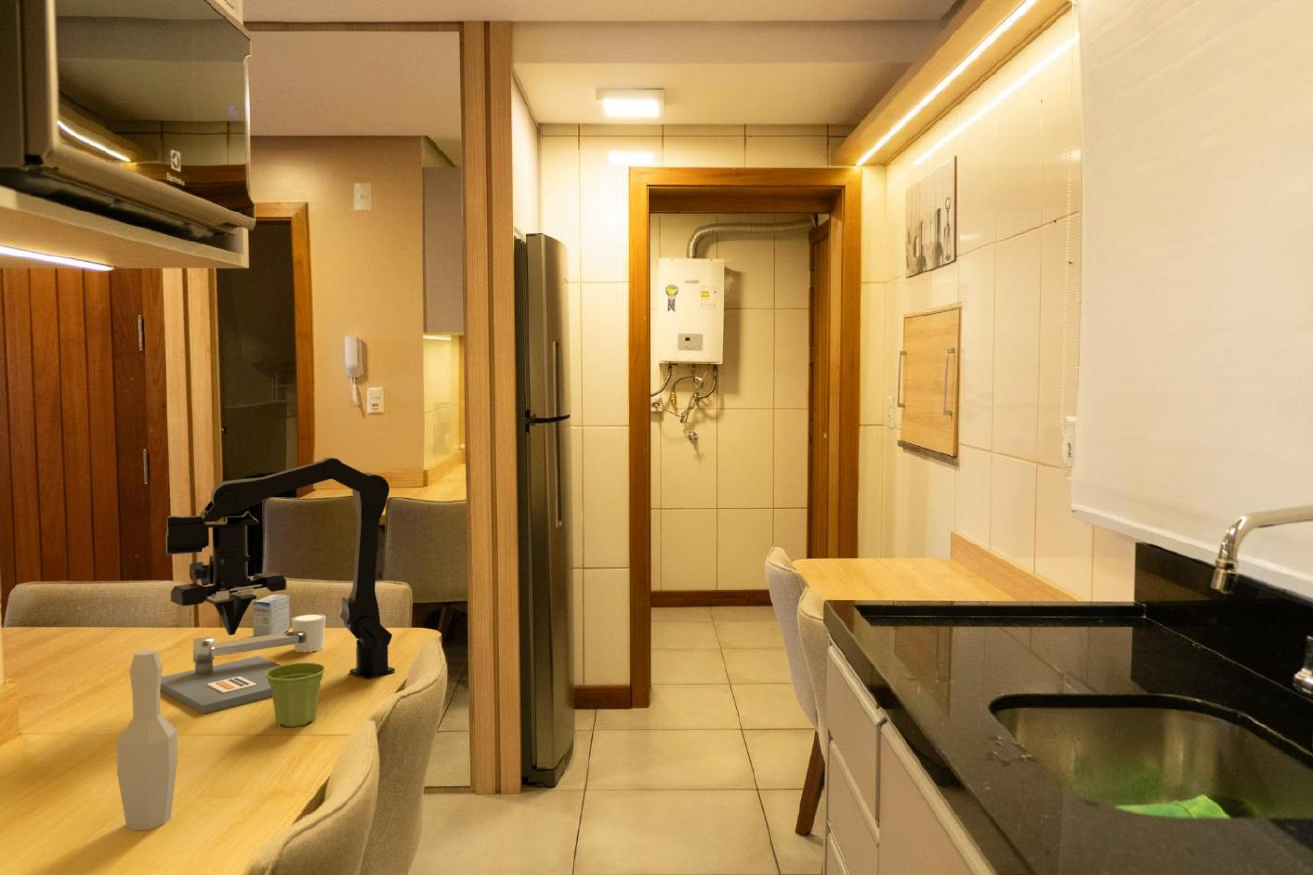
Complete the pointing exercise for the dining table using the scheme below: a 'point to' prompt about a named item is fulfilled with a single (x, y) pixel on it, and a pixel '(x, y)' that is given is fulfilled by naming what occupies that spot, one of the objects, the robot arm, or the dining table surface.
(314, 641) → the white cup
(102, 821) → the dining table surface
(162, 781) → the low poly bottle
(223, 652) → the swing arm
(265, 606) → the medicine box
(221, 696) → the label board
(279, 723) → the plant pot
